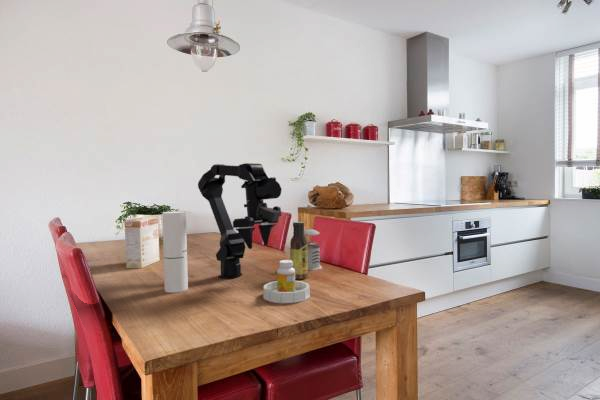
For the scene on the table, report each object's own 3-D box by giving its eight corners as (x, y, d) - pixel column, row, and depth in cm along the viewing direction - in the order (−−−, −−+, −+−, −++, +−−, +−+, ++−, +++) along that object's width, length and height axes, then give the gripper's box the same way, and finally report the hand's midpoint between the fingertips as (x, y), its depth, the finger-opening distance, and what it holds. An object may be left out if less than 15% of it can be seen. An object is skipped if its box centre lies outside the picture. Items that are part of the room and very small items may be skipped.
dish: (254, 299, 113) (254, 289, 113) (277, 287, 125) (277, 278, 125) (297, 306, 107) (297, 295, 107) (317, 292, 119) (317, 282, 119)
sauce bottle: (306, 280, 134) (305, 223, 133) (288, 279, 135) (287, 223, 134) (309, 275, 140) (308, 221, 139) (292, 275, 141) (291, 221, 140)
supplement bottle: (274, 292, 117) (273, 260, 117) (289, 289, 120) (289, 258, 119) (282, 296, 112) (282, 263, 112) (298, 293, 115) (298, 261, 115)
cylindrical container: (192, 287, 127) (190, 211, 125) (178, 293, 120) (176, 213, 119) (174, 285, 129) (172, 211, 128) (159, 291, 122) (157, 213, 121)
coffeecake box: (145, 260, 170) (143, 216, 169) (160, 260, 169) (158, 216, 168) (125, 268, 156) (123, 220, 154) (141, 268, 155) (140, 220, 154)
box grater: (326, 266, 155) (326, 204, 153) (312, 272, 145) (311, 206, 143) (305, 263, 160) (305, 203, 158) (290, 269, 150) (289, 205, 149)
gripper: (259, 199, 118) (262, 250, 117) (289, 198, 134) (292, 242, 134) (230, 202, 123) (233, 250, 123) (262, 200, 139) (265, 243, 139)
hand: (258, 246), depth 129 cm, fingers open, 9 cm apart
